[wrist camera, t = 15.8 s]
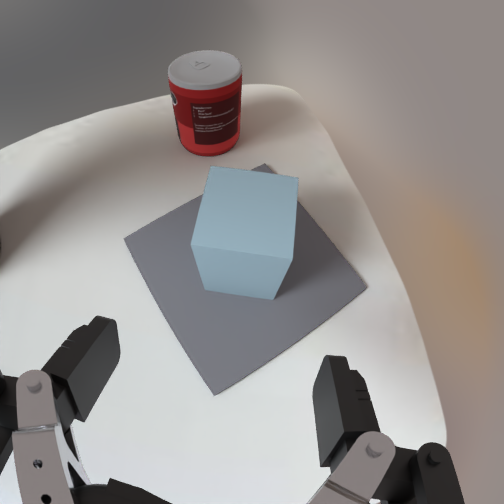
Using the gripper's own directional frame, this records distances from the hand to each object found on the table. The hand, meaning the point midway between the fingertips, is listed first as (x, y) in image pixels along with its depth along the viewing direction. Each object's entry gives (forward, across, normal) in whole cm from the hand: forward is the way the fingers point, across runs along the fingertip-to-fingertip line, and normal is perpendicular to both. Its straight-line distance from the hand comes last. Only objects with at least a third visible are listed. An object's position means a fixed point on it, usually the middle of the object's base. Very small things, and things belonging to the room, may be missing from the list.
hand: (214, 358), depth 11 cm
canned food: (+30, +7, -7) cm, 32 cm away
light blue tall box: (+18, 0, +4) cm, 19 cm away
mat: (+19, 0, +4) cm, 19 cm away
